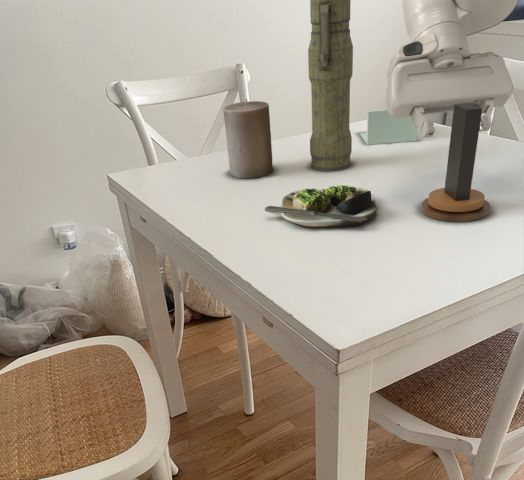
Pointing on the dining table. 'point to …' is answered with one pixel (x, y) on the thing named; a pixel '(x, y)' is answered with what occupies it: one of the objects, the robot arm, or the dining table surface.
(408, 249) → the dining table surface
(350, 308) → the dining table surface
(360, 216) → the salad plate
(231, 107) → the pillar candle
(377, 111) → the right angle wall
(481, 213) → the swivel stand
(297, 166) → the dining table surface
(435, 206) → the slab on wooden base
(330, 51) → the thermos
